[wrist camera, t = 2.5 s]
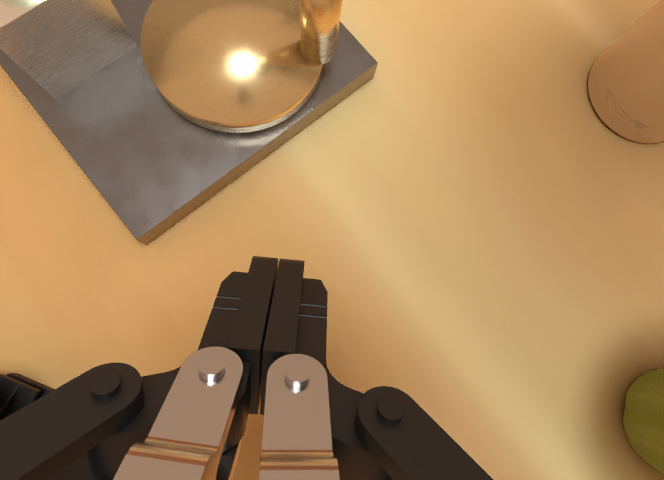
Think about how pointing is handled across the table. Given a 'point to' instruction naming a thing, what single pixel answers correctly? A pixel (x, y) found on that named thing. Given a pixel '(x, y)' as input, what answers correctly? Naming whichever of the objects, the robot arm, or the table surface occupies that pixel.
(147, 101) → the base
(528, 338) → the table surface
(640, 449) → the plant pot
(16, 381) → the end cap
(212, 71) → the brass dish with post
